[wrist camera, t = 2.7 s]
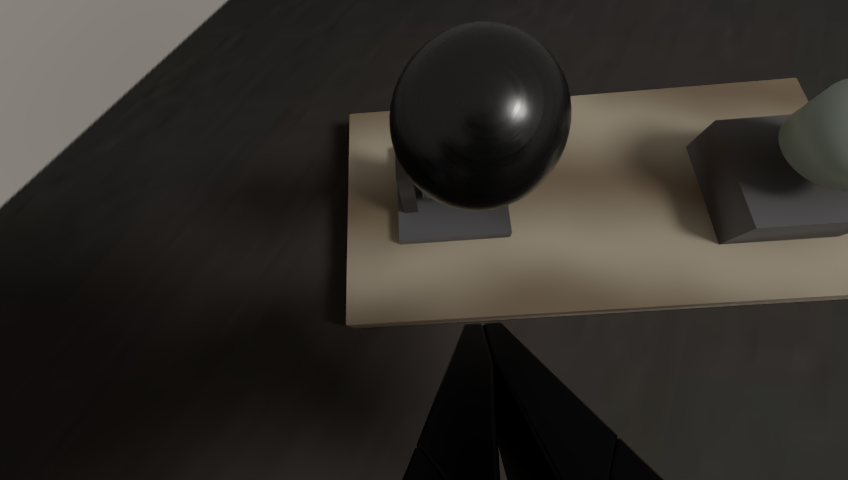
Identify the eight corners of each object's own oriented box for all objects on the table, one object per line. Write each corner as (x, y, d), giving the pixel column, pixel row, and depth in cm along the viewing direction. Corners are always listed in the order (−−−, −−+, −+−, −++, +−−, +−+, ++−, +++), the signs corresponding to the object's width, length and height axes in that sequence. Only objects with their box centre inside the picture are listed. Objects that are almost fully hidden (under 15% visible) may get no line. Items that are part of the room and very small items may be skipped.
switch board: (861, 297, 16) (1049, 268, 11) (354, 328, 17) (315, 313, 12) (771, 98, 20) (881, 8, 15) (356, 131, 21) (327, 56, 16)
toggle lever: (484, 203, 17) (610, 206, 5) (420, 208, 17) (385, 221, 5) (481, 136, 16) (606, -37, 4) (415, 142, 16) (365, -14, 5)
